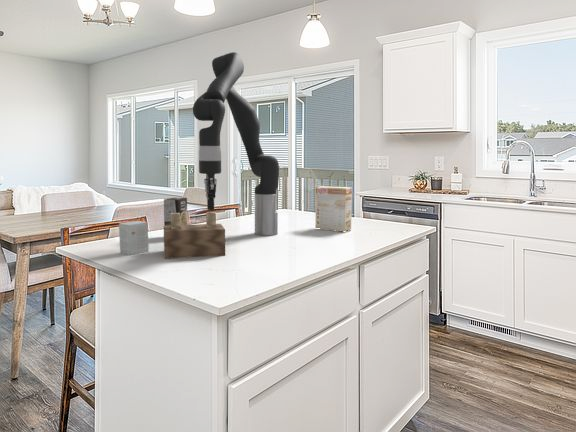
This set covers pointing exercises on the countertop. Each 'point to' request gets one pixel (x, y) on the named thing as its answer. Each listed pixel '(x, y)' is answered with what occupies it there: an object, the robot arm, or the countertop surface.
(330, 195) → the coffeecake box
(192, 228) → the walnut block
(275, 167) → the robot arm
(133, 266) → the countertop surface
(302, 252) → the countertop surface
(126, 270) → the countertop surface
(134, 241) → the small box
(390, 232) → the countertop surface
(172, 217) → the pin
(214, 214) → the pin
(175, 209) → the coffee box
